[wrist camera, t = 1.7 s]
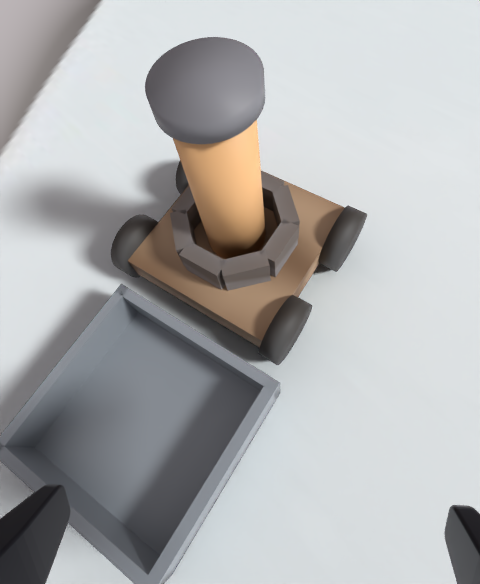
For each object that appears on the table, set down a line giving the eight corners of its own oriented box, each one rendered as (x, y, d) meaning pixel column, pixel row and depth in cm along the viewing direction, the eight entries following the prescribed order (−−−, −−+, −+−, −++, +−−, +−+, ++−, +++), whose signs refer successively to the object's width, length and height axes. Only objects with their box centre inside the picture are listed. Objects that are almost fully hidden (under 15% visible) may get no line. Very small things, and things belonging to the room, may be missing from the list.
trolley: (277, 371, 24) (276, 351, 19) (126, 278, 27) (94, 242, 23) (359, 235, 27) (375, 190, 22) (213, 168, 30) (201, 117, 26)
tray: (171, 575, 20) (150, 598, 17) (29, 450, 23) (-12, 449, 20) (280, 392, 23) (279, 382, 20) (140, 304, 26) (121, 283, 23)
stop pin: (247, 278, 23) (219, 140, 13) (188, 246, 24) (121, 97, 14) (285, 223, 24) (286, 57, 14) (227, 195, 25) (190, 25, 15)
